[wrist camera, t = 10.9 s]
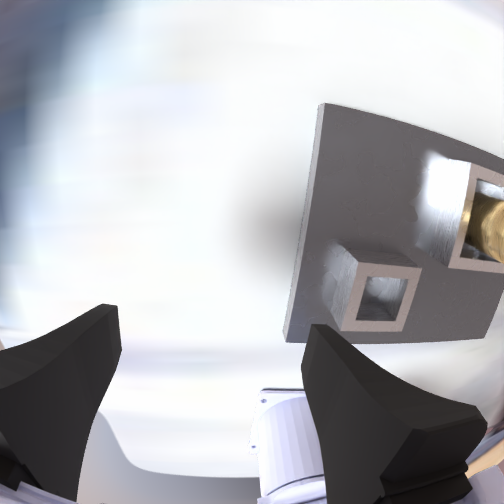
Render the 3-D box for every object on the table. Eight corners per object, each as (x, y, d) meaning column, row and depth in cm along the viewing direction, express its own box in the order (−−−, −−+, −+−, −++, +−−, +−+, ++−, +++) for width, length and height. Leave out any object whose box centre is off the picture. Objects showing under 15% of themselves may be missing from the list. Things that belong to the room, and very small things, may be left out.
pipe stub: (484, 244, 20) (534, 271, 15) (450, 242, 20) (503, 272, 14) (492, 195, 19) (547, 213, 14) (459, 188, 19) (517, 206, 13)
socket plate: (475, 330, 25) (498, 351, 21) (282, 330, 23) (290, 364, 20) (520, 170, 20) (551, 178, 16) (318, 105, 18) (337, 97, 15)
